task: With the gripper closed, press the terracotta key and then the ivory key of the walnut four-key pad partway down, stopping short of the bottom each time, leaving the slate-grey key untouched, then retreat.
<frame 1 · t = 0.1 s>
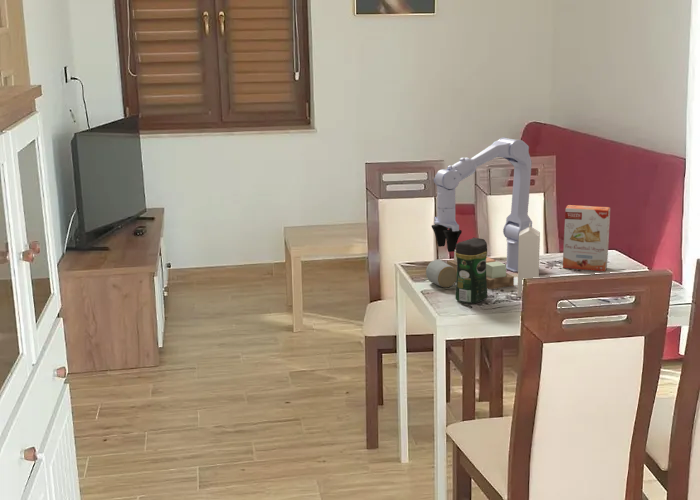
hand: (446, 248, 276), 10 cm above the table, tool pointing down, fingers open, 7 cm apart
cracker box: (584, 268, 287), on the table
milk: (527, 295, 259), on the table
ceramic mug: (445, 285, 272), on the table
key sage: (495, 270, 269), point 5 cm above the table, slide at 0.0 cm
key slate: (474, 261, 281), point 5 cm above the table, slide at 0.0 cm
keypad frame: (479, 277, 279), on the table
key terracotta: (484, 265, 275), point 5 cm above the table, slide at 0.0 cm
key ivory: (464, 256, 287), point 5 cm above the table, slide at 0.0 cm
coffee jar: (470, 300, 255), on the table
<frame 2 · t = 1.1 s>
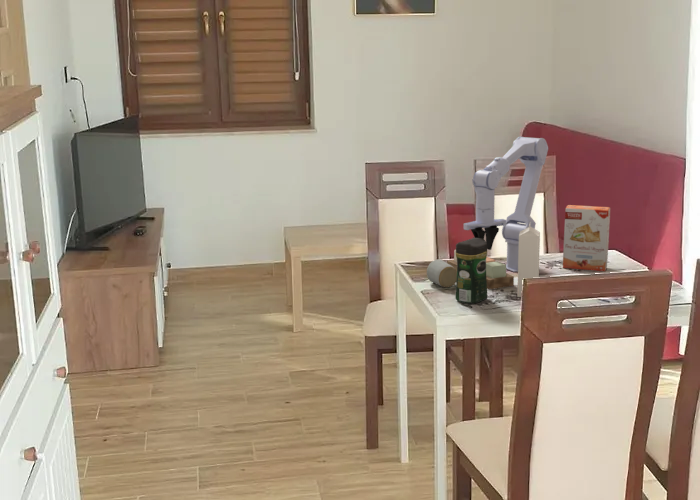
hand: (484, 249, 274), 10 cm above the table, tool pointing down, fingers closed
nothing on the table moved.
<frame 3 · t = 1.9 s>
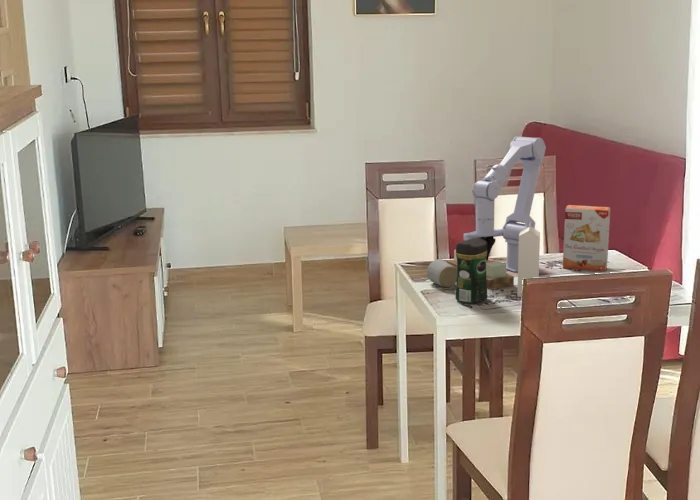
hand: (484, 259, 275), 7 cm above the table, tool pointing down, fingers closed, pressing on key terracotta
key terracotta: (484, 265, 275), point 5 cm above the table, slide at 0.1 cm, touching gripper
everything else where it was.
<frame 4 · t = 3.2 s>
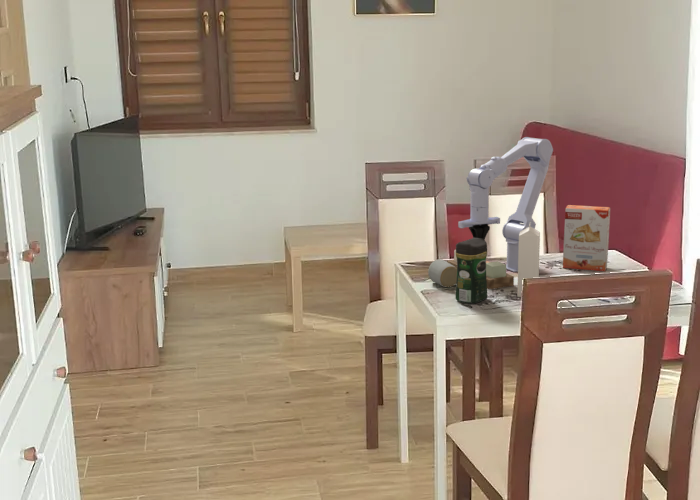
hand: (479, 247, 277), 10 cm above the table, tool pointing down, fingers closed
key terracotta: (484, 269, 275), point 3 cm above the table, slide at 1.4 cm
everything else where it was.
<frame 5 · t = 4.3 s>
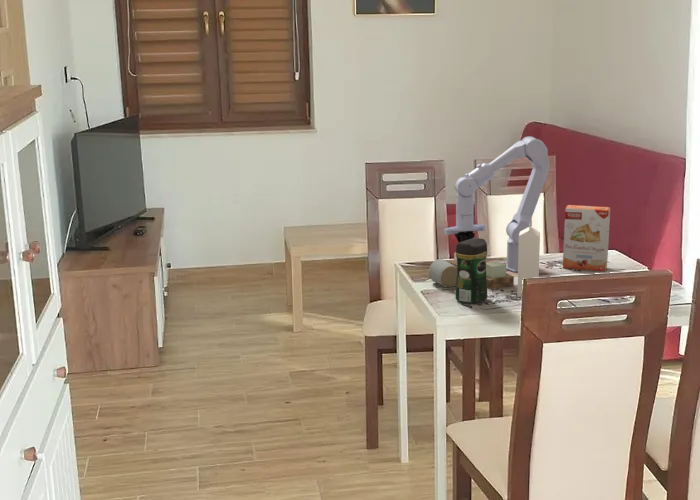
hand: (464, 253, 286), 6 cm above the table, tool pointing down, fingers closed, pressing on key ivory
key ivory: (464, 259, 287), point 4 cm above the table, slide at 1.0 cm, touching gripper
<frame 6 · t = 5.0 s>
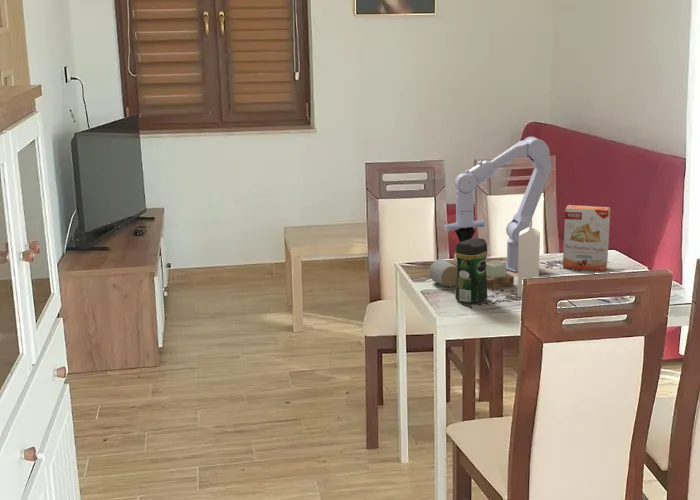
hand: (464, 250, 286), 7 cm above the table, tool pointing down, fingers closed
key ivory: (464, 260, 287), point 3 cm above the table, slide at 1.4 cm
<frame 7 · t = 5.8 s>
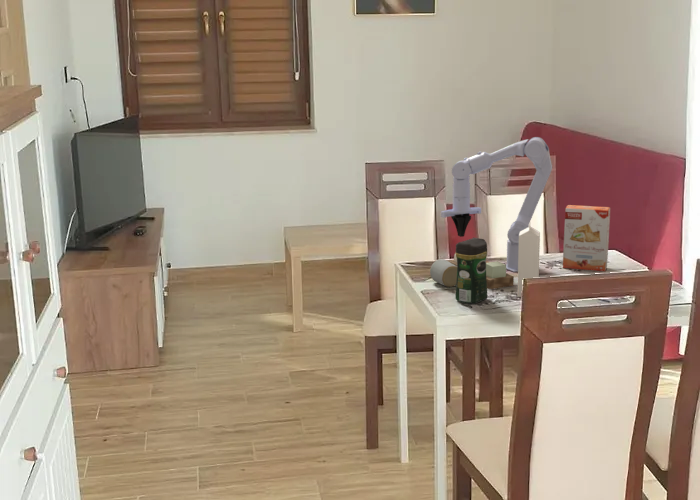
hand: (461, 236, 291), 10 cm above the table, tool pointing down, fingers closed
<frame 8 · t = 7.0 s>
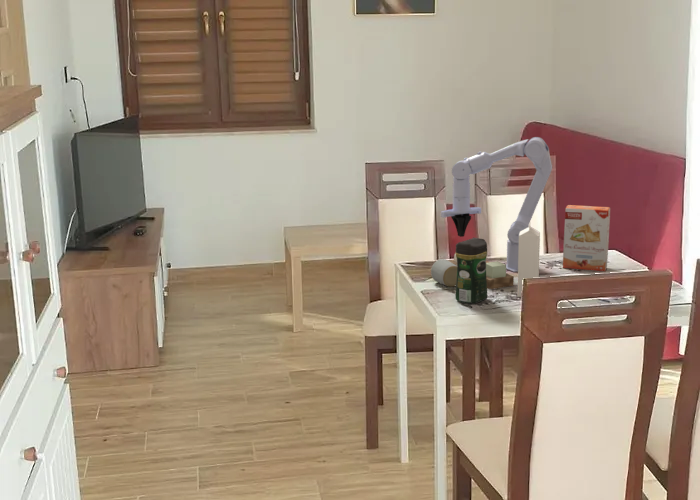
hand: (461, 236, 291), 10 cm above the table, tool pointing down, fingers closed
at the end: key terracotta slide at 1.4 cm; key ivory slide at 1.4 cm; key slate slide at 0.0 cm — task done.
